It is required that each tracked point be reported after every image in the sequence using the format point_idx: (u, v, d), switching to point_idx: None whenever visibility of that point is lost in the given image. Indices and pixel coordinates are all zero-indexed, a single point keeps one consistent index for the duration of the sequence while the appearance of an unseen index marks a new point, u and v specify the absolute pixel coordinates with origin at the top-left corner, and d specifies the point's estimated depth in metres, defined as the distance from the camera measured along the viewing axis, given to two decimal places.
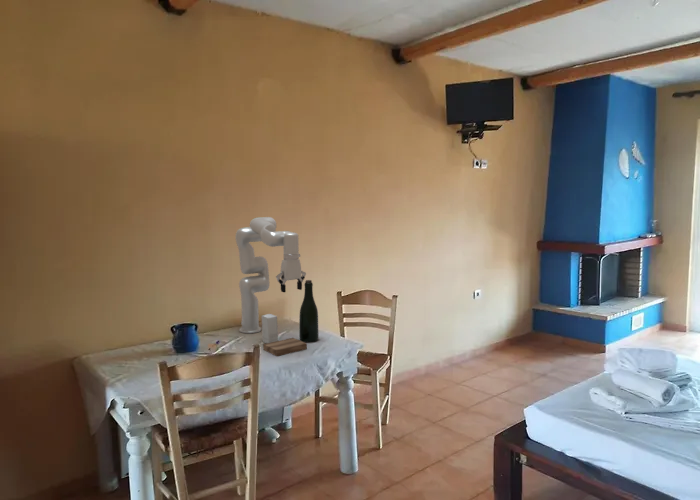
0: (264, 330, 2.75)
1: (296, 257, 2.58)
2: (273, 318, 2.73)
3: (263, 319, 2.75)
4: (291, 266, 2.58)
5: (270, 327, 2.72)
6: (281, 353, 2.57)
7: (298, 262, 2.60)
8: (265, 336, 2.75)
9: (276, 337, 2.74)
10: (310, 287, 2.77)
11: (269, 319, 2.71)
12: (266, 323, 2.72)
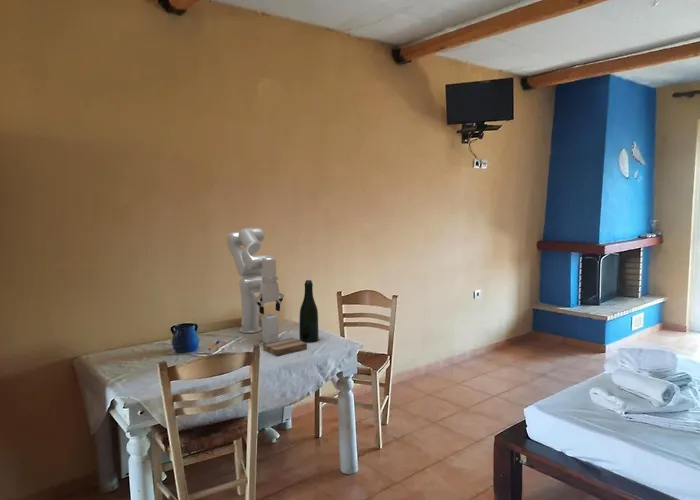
0: (264, 330, 2.75)
1: (274, 280, 2.71)
2: (273, 318, 2.73)
3: (263, 319, 2.75)
4: (269, 289, 2.71)
5: (270, 327, 2.72)
6: (281, 353, 2.57)
7: (276, 285, 2.73)
8: (265, 336, 2.75)
9: (276, 337, 2.74)
10: (310, 287, 2.77)
11: (269, 319, 2.71)
12: (266, 323, 2.72)
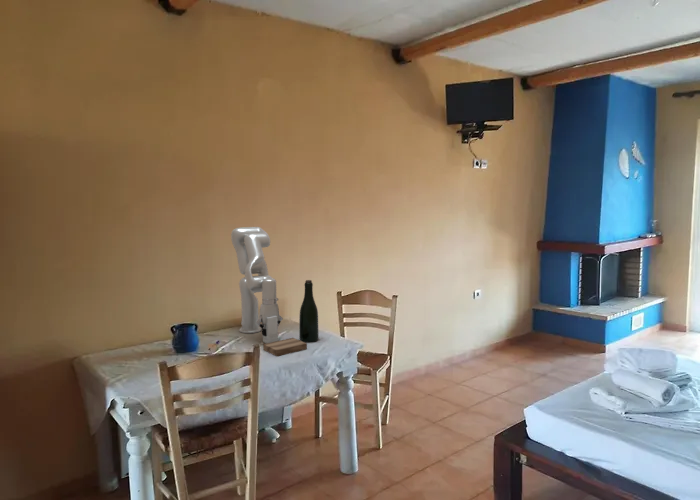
0: None
1: (274, 302, 2.72)
2: (273, 318, 2.73)
3: None
4: (269, 310, 2.72)
5: (270, 327, 2.72)
6: (281, 353, 2.57)
7: (276, 306, 2.75)
8: (265, 336, 2.75)
9: (276, 337, 2.74)
10: (310, 287, 2.77)
11: (269, 319, 2.71)
12: (266, 323, 2.72)
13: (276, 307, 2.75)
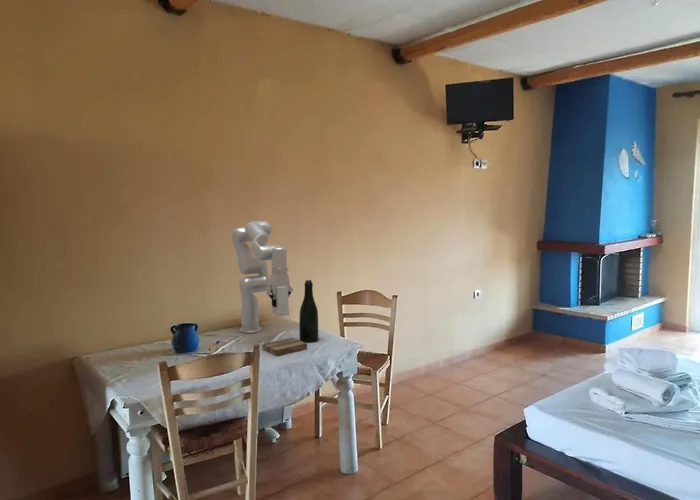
0: None
1: (284, 271, 2.62)
2: (283, 288, 2.62)
3: None
4: (279, 280, 2.62)
5: (280, 298, 2.62)
6: (281, 353, 2.57)
7: (286, 276, 2.65)
8: (275, 307, 2.64)
9: (287, 308, 2.64)
10: (310, 287, 2.77)
11: (279, 289, 2.61)
12: None
13: (286, 277, 2.65)
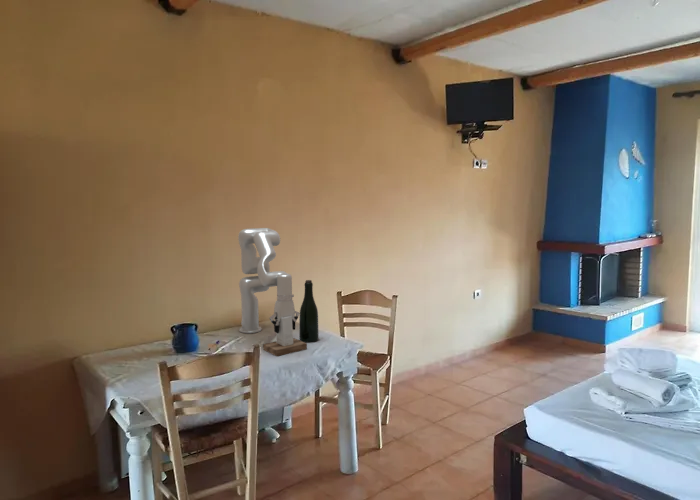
0: None
1: (289, 298, 2.60)
2: (288, 318, 2.61)
3: None
4: (285, 307, 2.60)
5: (285, 328, 2.60)
6: (281, 353, 2.57)
7: (291, 303, 2.63)
8: (279, 337, 2.63)
9: (291, 338, 2.63)
10: (310, 287, 2.77)
11: (284, 320, 2.59)
12: (281, 323, 2.60)
13: (291, 304, 2.63)
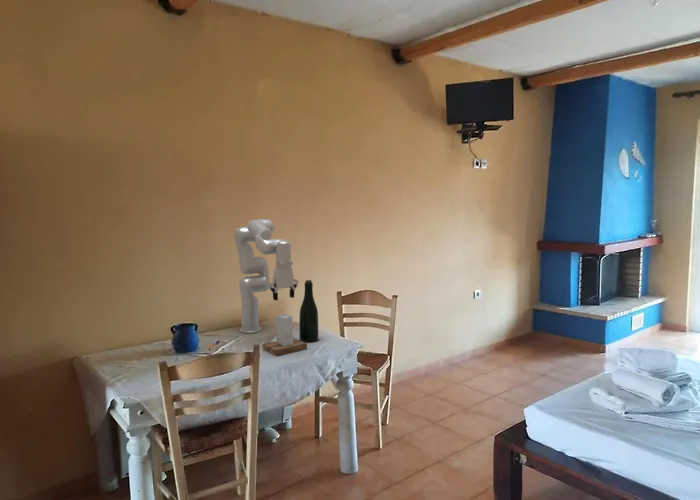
0: (278, 331, 2.63)
1: (288, 265, 2.58)
2: (288, 318, 2.61)
3: (277, 319, 2.63)
4: (283, 274, 2.59)
5: (285, 328, 2.60)
6: (281, 353, 2.57)
7: (290, 270, 2.61)
8: (279, 337, 2.63)
9: (291, 338, 2.63)
10: (310, 287, 2.77)
11: (284, 320, 2.59)
12: (281, 323, 2.60)
13: (290, 271, 2.61)
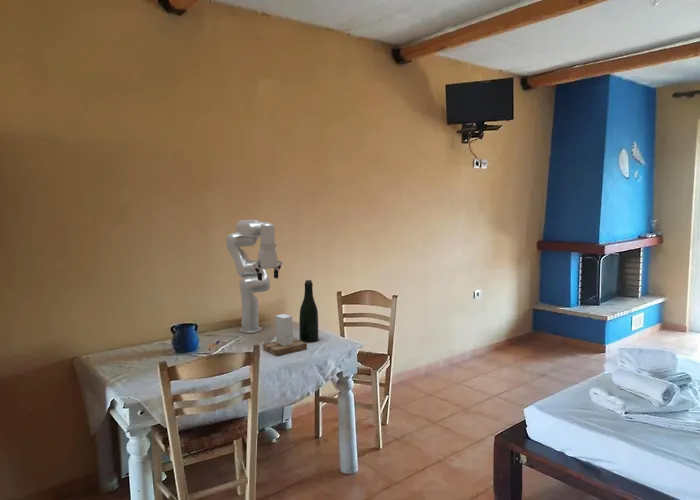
0: (278, 331, 2.63)
1: (272, 247, 2.69)
2: (288, 318, 2.61)
3: (277, 319, 2.63)
4: (267, 255, 2.69)
5: (285, 328, 2.60)
6: (281, 353, 2.57)
7: (274, 252, 2.72)
8: (279, 337, 2.63)
9: (291, 338, 2.63)
10: (310, 287, 2.77)
11: (284, 320, 2.59)
12: (281, 323, 2.60)
13: (274, 253, 2.72)
